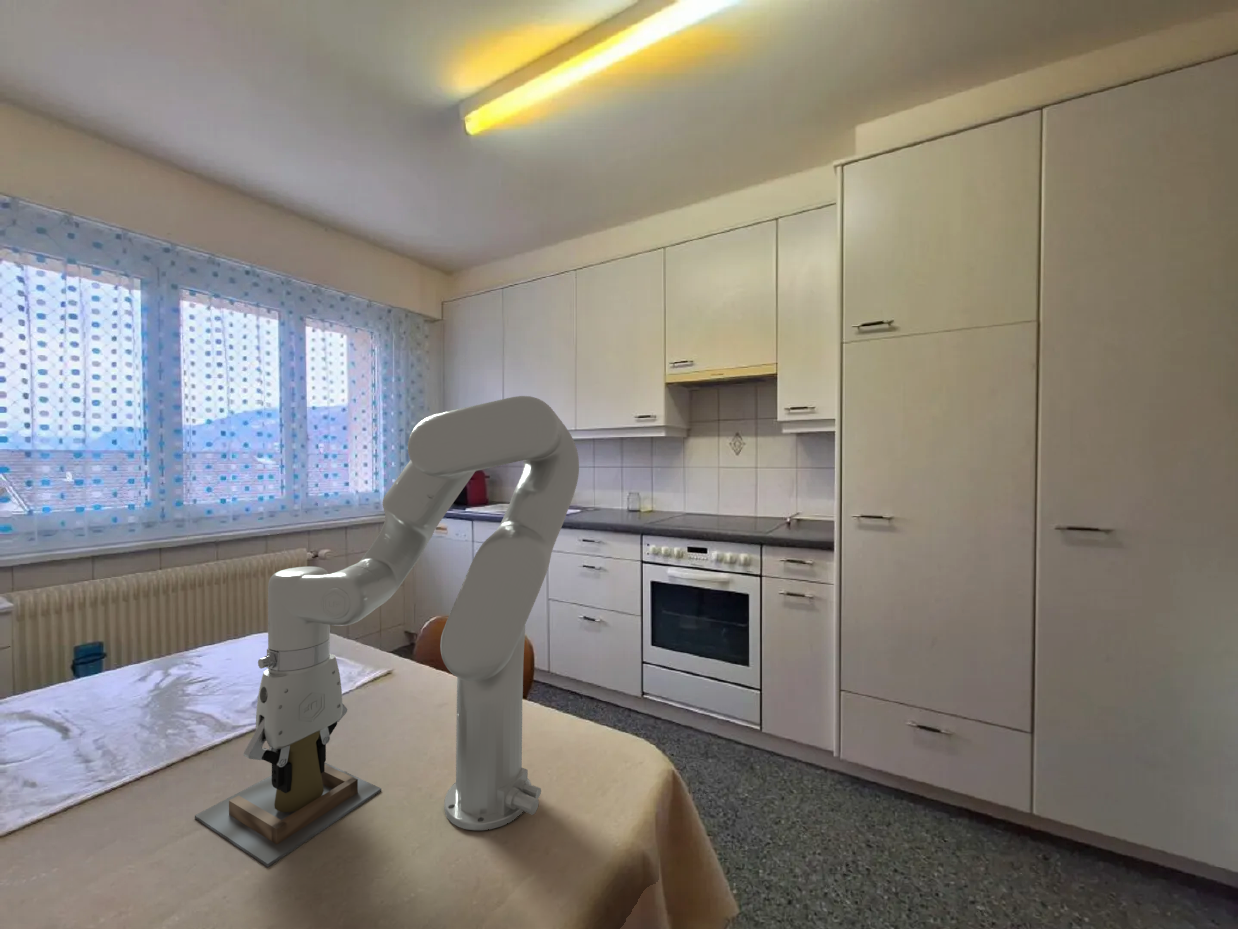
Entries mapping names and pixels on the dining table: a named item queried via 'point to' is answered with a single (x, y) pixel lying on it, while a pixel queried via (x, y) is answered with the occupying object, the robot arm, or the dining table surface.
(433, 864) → the dining table surface
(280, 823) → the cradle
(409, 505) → the robot arm
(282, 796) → the cork
